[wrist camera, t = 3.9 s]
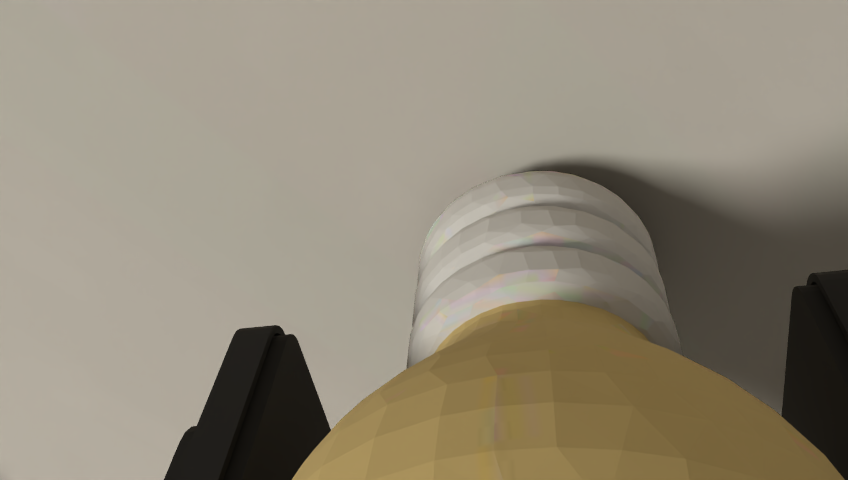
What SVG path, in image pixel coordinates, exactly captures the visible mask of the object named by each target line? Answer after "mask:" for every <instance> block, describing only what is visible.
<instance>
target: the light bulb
mask: <svg viewBox="0 0 848 480" xmlns="http://www.w3.org/2000/svg"><path fill="white" fill-rule="evenodd" d="M412 326H413V329H412V331H411V334H410V341H409V350H408V360H407V369H406V370H404V371H403V372H401V373H400V374H398V375H397V376H396V377H394V378H393V379H391V380H390V381H389V382H387V383H386V384H384V385H383V386H382V387H380V388H379V389H377V390H376V391H375V392H373V393H372V394H370V395H369V396H368V397H366V398H365V399H363V400H362V401H361V402H360V403H359V404H358V405H357V406H355V407H354V408H353V409H352V410H351V411H350V412H349V413H348V414H347V415H346V416H344V417H343V418H342V419H341V420H340V421H339V422H338V423H337V424H336V426H335V427H334V428H333V429H332V430H331V431H330V432H329V433H328V435H327V436H326V437H325V438H324V439H323V440H322V441H321V442H320V443H319V445H318V446H317V447H316V448H315V449H314V450H313V451H312V453H311V454H310V455H309V456H308V458H307V459H306V460H305V461H304V462H303V464H302V465H301V467H300V468H299V470H298V471H297V473H296V474H295V476H294V477H293V479H292V480H845V479H844V478H843V477H842V476H841V474H840V473H839V472H838V471H837V470H836V468H835V467H834V466H833V465H832V463H831V462H830V461H829V460H828V459H827V457H826V456H825V455H824V454H823V453H822V452H821V451H820V450H819V449H817V448H816V447H815V446H814V445H813V444H812V443H811V442H810V441H808V440H807V439H806V438H805V437H804V436H803V435H802V434H801V433H799V432H798V431H797V430H796V429H795V428H794V427H793V426H792V425H791V424H789V423H788V422H787V421H786V420H785V419H784V418H783V417H782V416H780V415H779V414H778V413H777V412H776V411H775V410H774V409H772V408H771V407H769V406H768V405H766V404H765V403H763V402H762V401H760V400H759V399H757V398H756V397H754V396H753V395H751V394H750V393H748V392H747V391H745V390H744V389H742V388H741V387H739V386H738V385H737V384H735V383H734V382H732V381H731V380H729V379H728V378H726V377H724V376H722V375H720V374H718V373H716V372H714V371H712V370H710V369H708V368H706V367H704V366H702V365H700V364H698V363H696V362H694V361H692V360H690V359H688V358H686V357H684V356H683V355H682V348H681V344H680V340H679V337H678V333H677V330H676V326H675V323H674V321H673V319H672V317H671V315H670V309H669V304H668V300H667V295H666V291H665V287H664V283H663V279H662V277H661V275H660V273H659V268H658V263H657V259H656V255H655V252H654V248H653V244H652V241H651V238H650V235H649V233H648V231H647V230H646V228H645V226H644V225H643V223H642V221H641V220H640V218H639V217H638V215H637V214H636V213H635V212H634V211H633V210H632V209H631V208H630V207H629V206H628V205H627V204H626V203H625V202H624V201H623V200H622V199H621V198H620V197H619V196H617V195H616V194H614V193H613V192H611V191H609V190H608V189H606V188H605V187H603V186H602V185H599V184H597V183H594V182H592V181H589V180H587V179H584V178H581V177H579V176H576V175H573V174H567V173H561V172H554V171H529V172H523V173H517V174H511V175H504V176H500V177H497V178H495V179H493V180H490V181H488V182H485V183H483V184H480V185H478V186H475V187H473V188H472V189H470V190H469V191H467V192H466V193H465V194H463V195H462V196H460V197H459V198H457V199H456V200H454V201H453V202H451V203H450V205H449V206H448V207H447V208H446V209H445V210H444V211H443V213H442V214H441V215H440V216H439V217H438V218H437V220H436V221H435V222H434V223H433V225H432V227H431V229H430V231H429V233H428V235H427V237H426V240H425V242H424V245H423V248H422V251H421V254H420V261H419V273H418V284H417V289H416V293H415V303H414V313H413V324H412Z"/></svg>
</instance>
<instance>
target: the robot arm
mask: <svg viewBox="0 0 848 480" xmlns="http://www.w3.org/2000/svg"><path fill="white" fill-rule="evenodd" d="M782 417H783V418H784V419H785V420H786V421H787V422H788V423H789V424H791V425H792V426H793V427H794V428H795V429H796V430H797V431H798V432H799V433H801V434H802V435H803V436H804V437H805V438H806V439H807V440H808V441H810V442H811V443H812V444H813V445H814V446H815V447H816V448H817V449H819V450H820V451H821V452H822V453H823V454H824V455H825V456H826V457H827V459H828V460H829V461H830V462H831V463H832V465H833V466H834V467H835V468H836V470H837V471H838V472H839V473H840V474H841V476H842V477H843V478H844V479H845V480H848V270H842V271H831V272H821V273H812V274H810V276H809V278H808V280H807V286H796V287H794V289H793V292H792V300H791V312H790V324H789V336H788V348H787V360H786V372H785V384H784V396H783V408H782ZM330 431H331V429H330V427H329V424H328V421H327V418H326V416H325V413H324V410H323V408H322V405H321V402H320V400H319V397H318V394H317V391H316V389H315V386H314V383H313V381H312V378H311V375H310V372H309V370H308V367H307V364H306V362H305V359H304V356H303V354H302V351H301V348H300V345H299V343H298V340H297V338H296V337H295V336H294V335H293V334H288V335H285V333H284V331H283V329H282V328H281V327H280V326H277V325H274V326H264V327H253V328H243V329H239V330H237V331H236V333H235V334H234V336H233V338H232V341H231V343H230V346H229V348H228V351H227V353H226V355H225V358H224V360H223V363H222V365H221V368H220V370H219V373H218V375H217V378H216V380H215V383H214V385H213V387H212V390H211V392H210V395H209V397H208V400H207V402H206V405H205V407H204V410H203V412H202V415H201V417H200V420H199V422H198V424H197V426H193V427H191V428H190V429H188V430H187V431H186V432H185V434H184V435H183V437H182V439H181V441H180V443H179V445H178V447H177V450H176V452H175V455H174V457H173V459H172V462H171V464H170V467H169V469H168V471H167V474H166V476H165V478H164V480H292V479H293V477H294V476H295V474H296V473H297V471H298V470H299V468H300V467H301V465H302V464H303V462H304V461H305V460H306V459H307V458H308V456H309V455H310V454H311V453H312V451H313V450H314V449H315V448H316V447H317V446H318V445H319V443H320V442H321V441H322V440H323V439H324V438H325V437H326V436H327V435H328V433H329V432H330Z"/></svg>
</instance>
